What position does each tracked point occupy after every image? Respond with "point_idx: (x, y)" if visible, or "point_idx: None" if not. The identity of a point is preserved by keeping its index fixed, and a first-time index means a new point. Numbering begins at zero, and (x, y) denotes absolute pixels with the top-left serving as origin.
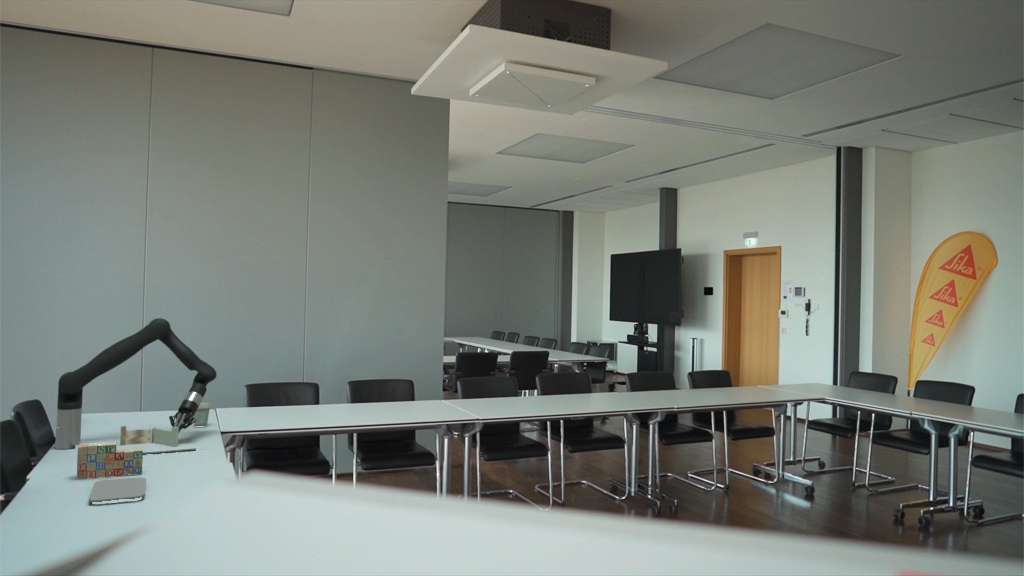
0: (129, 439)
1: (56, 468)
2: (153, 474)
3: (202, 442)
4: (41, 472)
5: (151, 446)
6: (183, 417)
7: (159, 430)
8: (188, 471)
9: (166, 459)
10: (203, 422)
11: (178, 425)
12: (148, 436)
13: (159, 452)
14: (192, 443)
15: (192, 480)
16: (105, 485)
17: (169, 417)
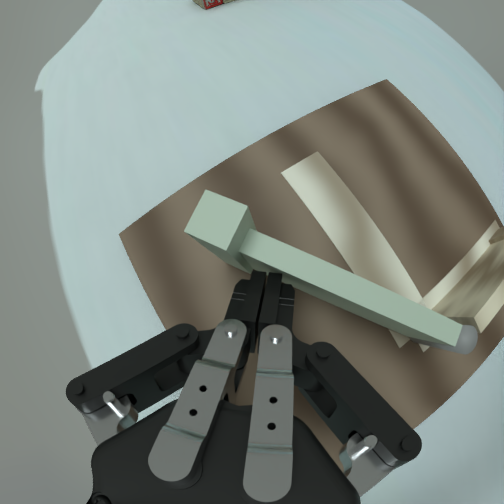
0: (499, 247)
1: (411, 17)
2: (168, 8)
3: None
4: (404, 3)
5: None
6: (184, 418)
7: (408, 300)
8: (104, 43)
9: (189, 85)
10: None
11: (232, 327)
12: (454, 307)
13: (264, 140)
14: None
15: (95, 24)
16: None
17: (411, 433)
